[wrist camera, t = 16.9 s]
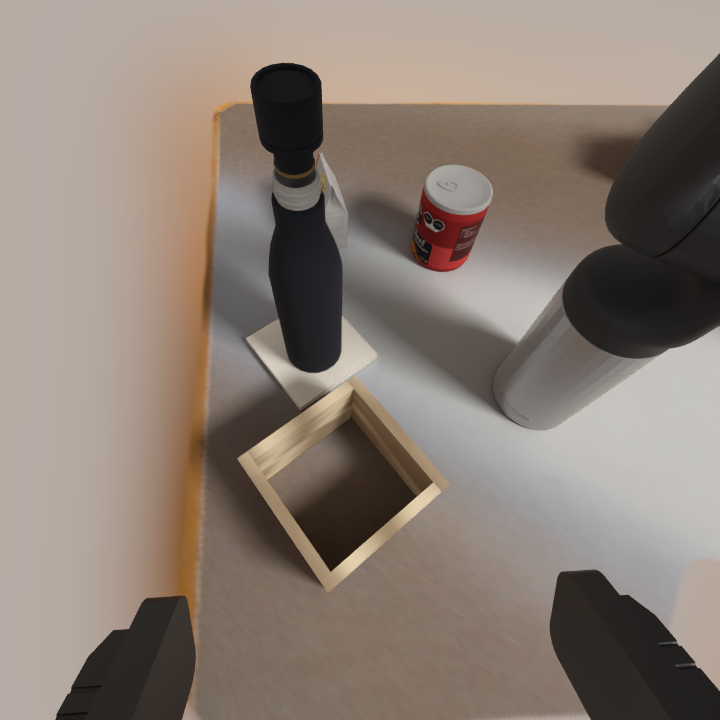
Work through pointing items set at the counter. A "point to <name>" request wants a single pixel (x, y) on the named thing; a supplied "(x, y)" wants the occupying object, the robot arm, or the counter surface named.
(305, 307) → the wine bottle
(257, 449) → the pine crate
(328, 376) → the cream tile
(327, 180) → the white paper bag
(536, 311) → the counter surface
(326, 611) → the counter surface
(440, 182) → the canned food
